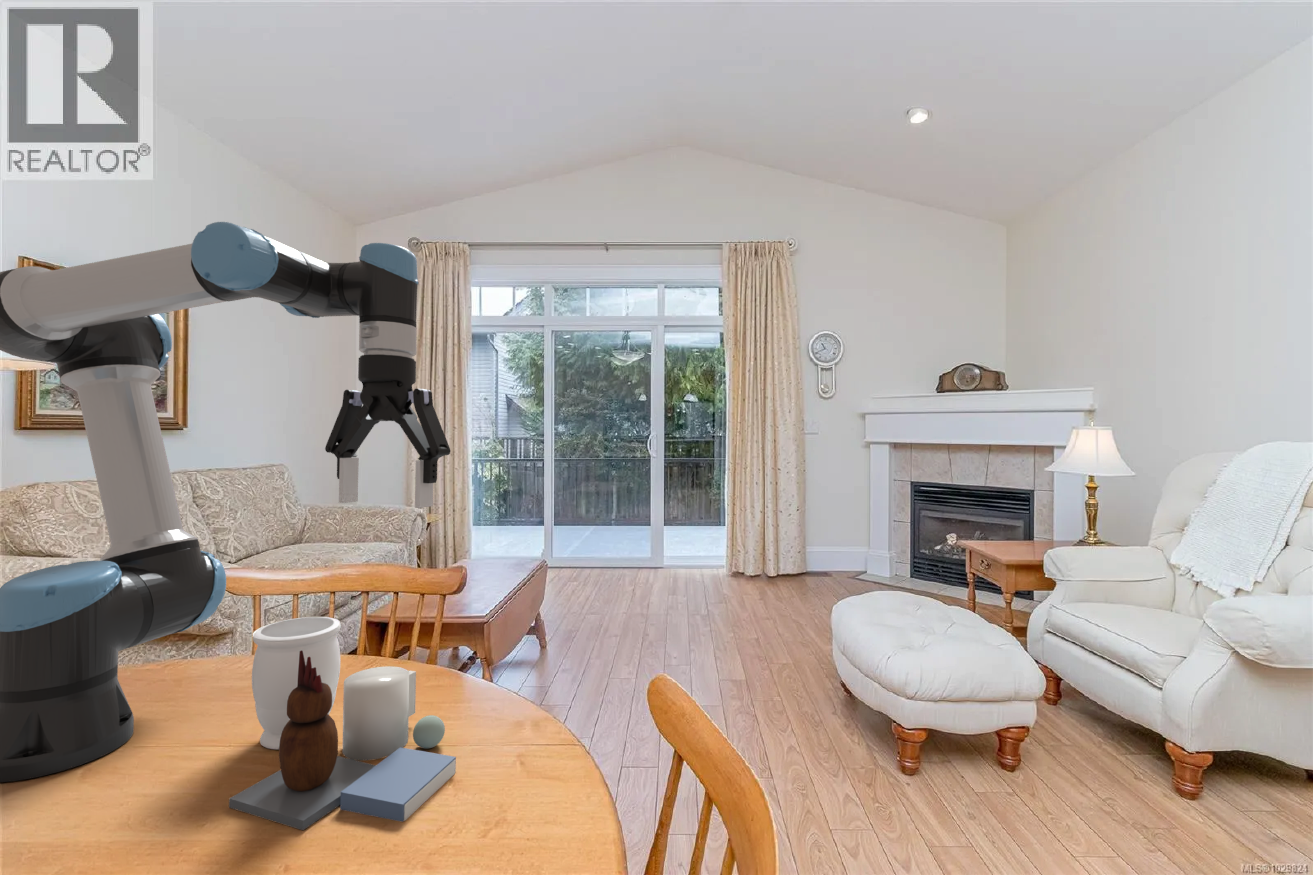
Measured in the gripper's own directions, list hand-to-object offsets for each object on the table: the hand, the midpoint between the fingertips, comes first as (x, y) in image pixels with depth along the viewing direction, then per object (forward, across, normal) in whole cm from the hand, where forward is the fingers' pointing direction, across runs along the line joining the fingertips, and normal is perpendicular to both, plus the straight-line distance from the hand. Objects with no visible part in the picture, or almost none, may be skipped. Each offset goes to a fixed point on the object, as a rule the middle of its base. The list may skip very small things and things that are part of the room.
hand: (385, 504), depth 85 cm
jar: (+32, -9, -6) cm, 34 cm away
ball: (+32, +10, -2) cm, 33 cm away
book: (+32, +14, -11) cm, 37 cm away
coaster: (+32, +4, -15) cm, 35 cm away
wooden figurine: (+31, +4, -15) cm, 35 cm away
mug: (+32, +3, -3) cm, 32 cm away
